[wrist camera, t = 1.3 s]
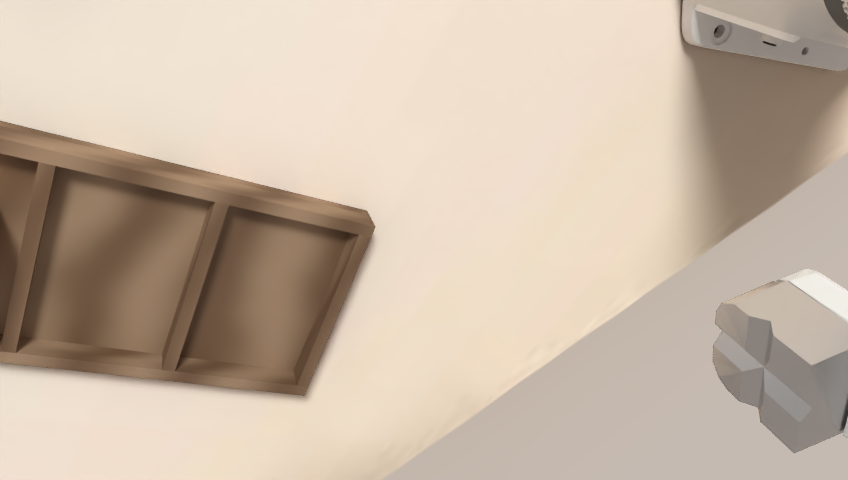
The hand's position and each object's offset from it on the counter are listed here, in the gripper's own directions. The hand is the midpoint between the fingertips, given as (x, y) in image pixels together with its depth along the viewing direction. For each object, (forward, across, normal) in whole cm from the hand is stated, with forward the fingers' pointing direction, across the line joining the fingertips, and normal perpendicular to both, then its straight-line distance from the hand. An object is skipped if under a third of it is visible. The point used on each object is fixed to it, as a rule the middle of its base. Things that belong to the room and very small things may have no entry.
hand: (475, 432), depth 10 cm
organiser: (+33, +11, +13) cm, 37 cm away
